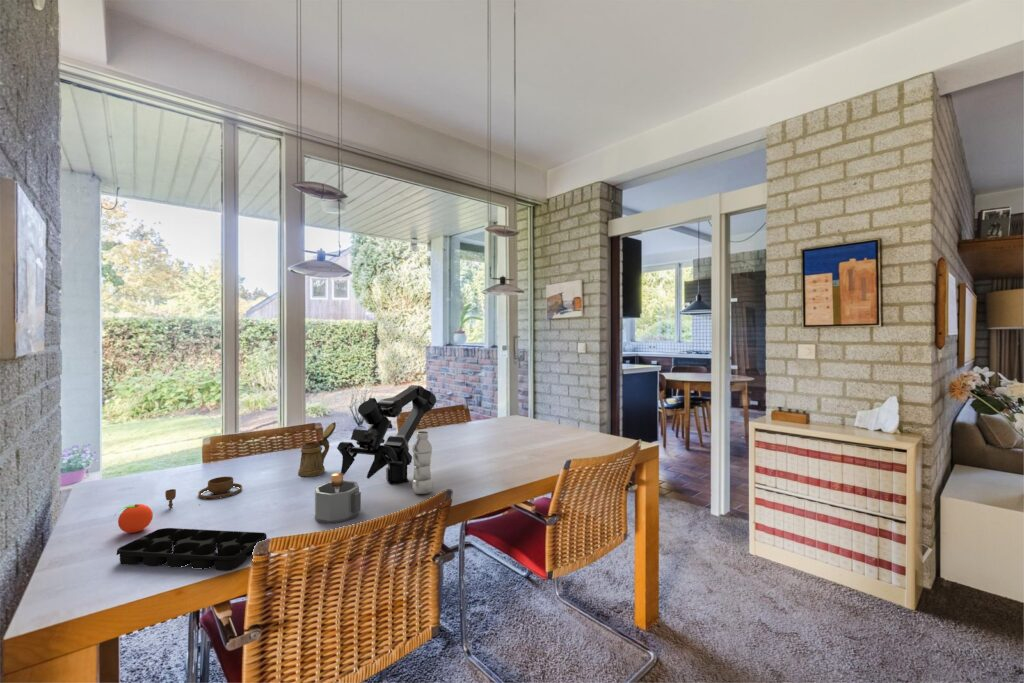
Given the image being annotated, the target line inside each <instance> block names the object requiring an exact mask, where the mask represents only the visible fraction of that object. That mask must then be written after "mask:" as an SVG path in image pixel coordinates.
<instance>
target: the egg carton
mask: <svg viewBox="0 0 1024 683" xmlns="http://www.w3.org/2000/svg"><path fill="white" fill-rule="evenodd" d="M267 538H268V537H267V534H266V532H258V531H257V532H256V531H241V530H240V531H239V530H238V531H237V530H234V531H233V530H218V529H217V530H216V529H215V530H214V529H197V528H180V527H179V528H178V527H177V528H176V527H166V528H165V527H164V528H158V529H156V530H154V531H152V532H150V533H147V534H145V535H143V536H140V537H139V538H137V539H135V540H132V541H131V542H129V543H126V544H124V545H121V546H120V547H118V548H117V549H116V556H119V563H120V565H124V564H126V565H127V564H128V565H127V566H134V565H139V564H141V563H143V565H144V566H145V565H146V566H147V567H159V566H158V565H160V566H163V565H165V563H166V562H167V563H166V567H167V566H170V567H169V568H173V567H181V566H185V565H187V564H190V563H191V564H190V568H191V567H193V568H202V569H201V570H205V569H204V568H208V569H210V568H209V567H211V568H213V567H214V569H216V570H215V571H219V572H220V571H223V572H229V571H234V570H235V569H237V568H239V567H241V566H242V565H243V564H244V563H245V562H246V557H252V556H253V555H252V552H253V549H254V546H255V545H256V543H257V542H259V541H262V540H265V539H266V540H267ZM266 540H265V541H266ZM172 541H173V542H172ZM216 543H217V544H216ZM174 545H175V546H174ZM217 547H218V548H217ZM215 550H216V551H215ZM172 552H173V553H172ZM251 555H252V556H251ZM162 564H163V565H162ZM126 565H125V566H126ZM146 566H145V567H146ZM212 566H213V567H212Z"/></svg>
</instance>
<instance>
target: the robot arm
mask: <svg viewBox="0 0 1024 683" xmlns="http://www.w3.org/2000/svg"><path fill="white" fill-rule="evenodd" d="M436 402H437V397H436V396H435V395H434V393H433V392H432V391H429V389H426V388H424V387H423V386H422V385H419V384H418V385H417V384H416V385H414V384H413V385H412V384H411V385H408V387H407V388H406V389H404V390H402V391H401V392H399V393H397V394H396V395H394V396H393V397H387V398H383V399H380V400H379V401H377V399H376V398H374V397H369V398H368V400H365V401H363V402H362V403H361V404H360V405H358V408H357V412H358V414H359V415H360V417H362V419H363V420H364V421H365V423H366V424H367V425H369V427H368V429H357V428H356V429H355V428H354V429H353V430H352V434H351V437H350V440H351V441H356V442H355V443H356V444H357V445H358V446H355V444H354V443H353V442H351V441H341V442H339V443H338V445H337V447H336V449H337V451H338V452H339V453H340V454H341V456H342V461H341V470H340V473H343V476H345V475H346V473H347V472H348V470H349V469H350V468H351V466H352V465H353V464H354V462H355V460H356V459H355V458H356V457H357V455H366V456H367V455H368V456H369V455H370V456H374V457H373V458H374V459H373V461H372V463H371V465H370V468H369V469H368V472H367V473H366V474H367V475H366V478H367V479H370V478H372V477H374V475H375V474H376V473H378V471H380V470H382V468H385V467H386V466H387V467H386V469H385V470H386V471H385V473H386V474H385V479H386V480H387V482H388V483H389V484H390V485H394V483H395V484H399V483H401V482H402V483H406V481H408V482H409V479H408V466H410V465H411V463H412V460H413V455H412V454H411V453H410V452H409V451H410V449H409V447H410V446H409V442H410V440H411V438H412V437H413V435H414V432H415V431H416V429H417V428H418V426H419V424H420V422H421V420H422V418H423V417H424V416H425V414H427V413H429V412H430V411H432V409H433V408H434V406H435V405H436ZM409 403H412V408H411V410H410V412H409V413H408V415H407V417H406V419H405V420H404V421H403V423H402V425H401V427H400V428H399V430H398V432H397V434H396V435H394V436H393V435H389V436H388V437H387V439H386V440H385V438H384V437H385V435H386V434H387V431H388V430H389V429H393V424H392V420H389V418H397V417H398V416H399V415H400V414H401V413H402V411H403V408H404V407H405V406H407V405H409ZM381 444H383V445H381Z"/></svg>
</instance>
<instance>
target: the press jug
mask: <svg viewBox="0 0 1024 683" xmlns="http://www.w3.org/2000/svg"><path fill="white" fill-rule="evenodd" d="M361 494H362V492H360V486H359V485H358V482H357V481H351V480H345V479H343V485H342V486H339V493H335V487H332V486H331V481H329V482H326V483H323V484H321V485H318V486H316V487H314V520H315V521H316V522H317V523H320V524H321V523H322V524H327V523H332V524H340V523H344V522H348V521H350V520H352V519H354V518H356V517H357V516H358V515H359V512H361V510H362V509H361V507H362V506H361V505H362V504H361V502H362V501H361V500H362V499H361V498H362V495H361Z"/></svg>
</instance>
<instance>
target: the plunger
mask: <svg viewBox="0 0 1024 683" xmlns="http://www.w3.org/2000/svg"><path fill="white" fill-rule="evenodd" d="M343 480H344V475H343V473H341V472H334V473H332V474H330V482H331V486H332V487H335V493H339V486H342V485H343Z"/></svg>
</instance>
